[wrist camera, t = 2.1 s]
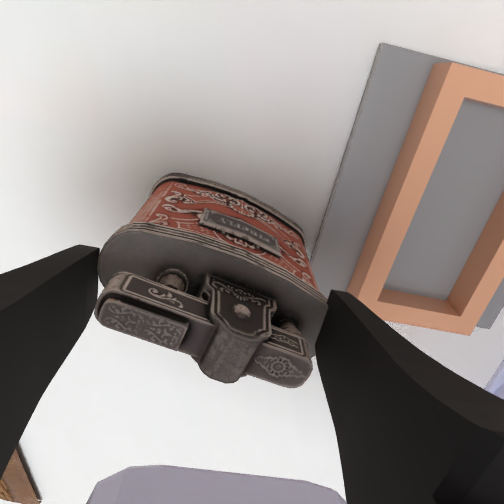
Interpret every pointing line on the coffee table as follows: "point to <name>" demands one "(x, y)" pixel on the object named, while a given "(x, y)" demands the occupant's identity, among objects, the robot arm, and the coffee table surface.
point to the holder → (421, 196)
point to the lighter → (214, 282)
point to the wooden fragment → (16, 483)
